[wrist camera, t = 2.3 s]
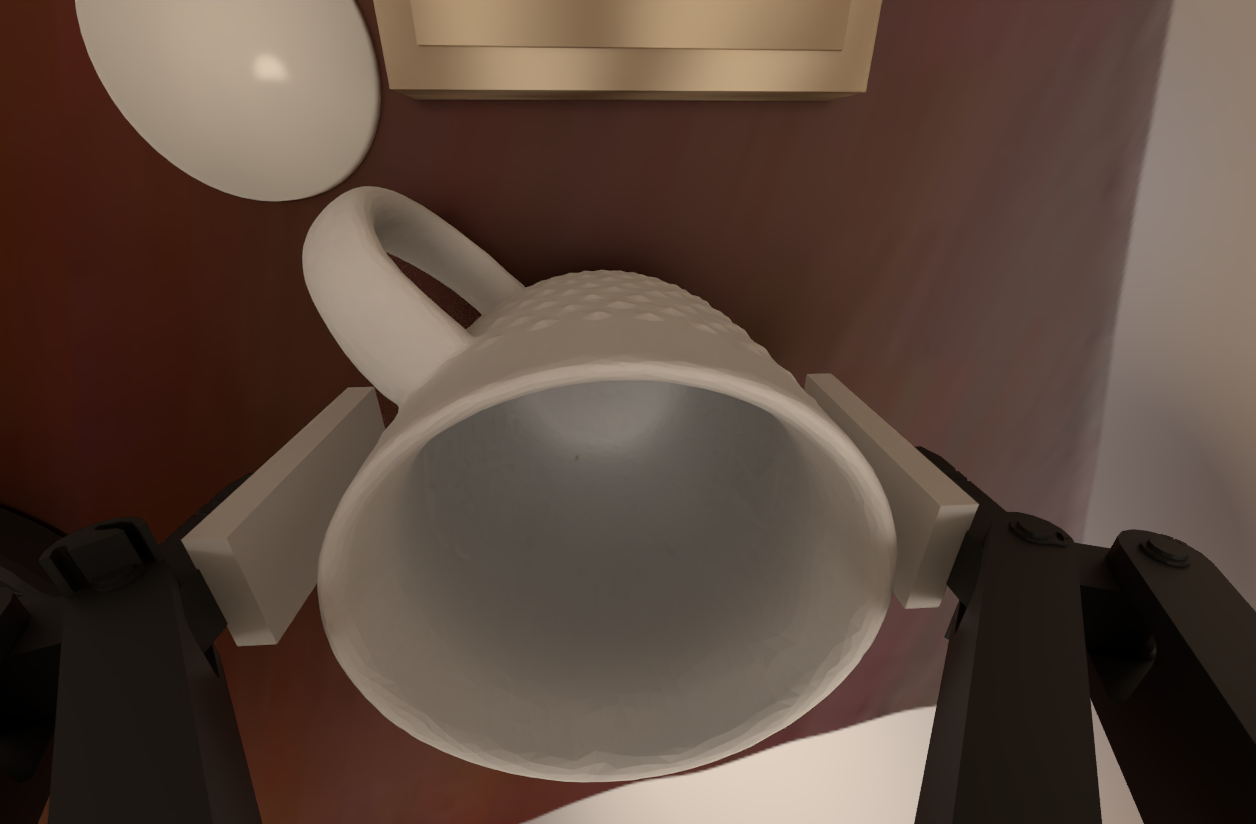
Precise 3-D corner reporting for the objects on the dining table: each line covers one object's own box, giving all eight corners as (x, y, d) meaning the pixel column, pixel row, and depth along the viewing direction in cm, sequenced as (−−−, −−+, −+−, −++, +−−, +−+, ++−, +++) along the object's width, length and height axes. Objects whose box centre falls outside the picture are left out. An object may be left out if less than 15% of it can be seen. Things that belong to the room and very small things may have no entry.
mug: (325, 295, 19) (-95, 510, 7) (528, 68, 16) (392, -178, 4) (593, 517, 25) (603, 836, 13) (775, 377, 22) (995, 619, 10)
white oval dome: (172, 201, 17) (150, 204, 16) (49, -112, 14) (12, -132, 13) (407, 197, 18) (398, 199, 17) (348, -106, 14) (333, -124, 13)
